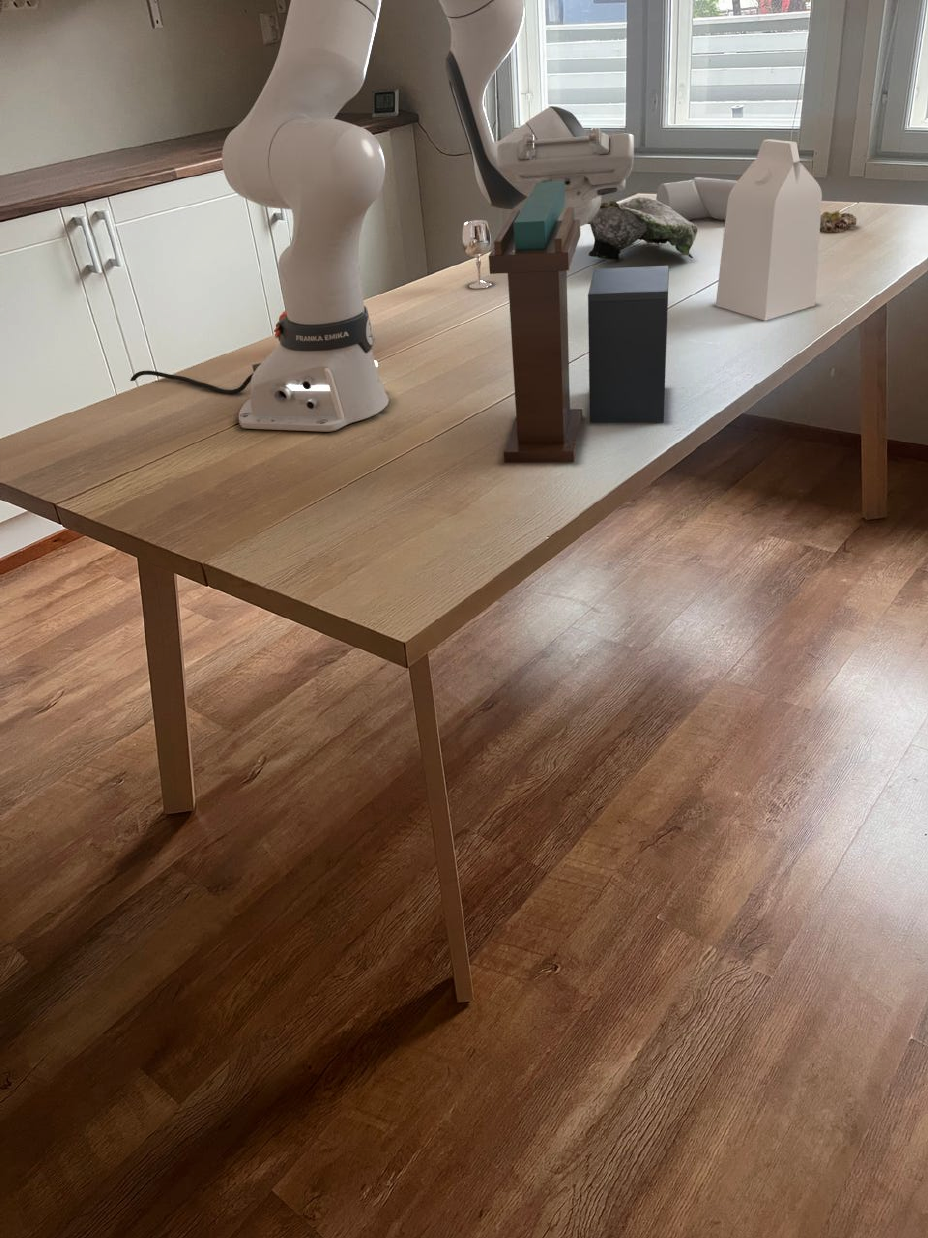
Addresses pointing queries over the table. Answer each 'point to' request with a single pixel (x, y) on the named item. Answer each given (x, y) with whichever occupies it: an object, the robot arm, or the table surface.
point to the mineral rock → (837, 221)
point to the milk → (771, 236)
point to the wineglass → (477, 245)
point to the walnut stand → (540, 343)
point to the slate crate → (627, 344)
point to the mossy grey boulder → (639, 227)
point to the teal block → (539, 216)
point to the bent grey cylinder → (697, 197)
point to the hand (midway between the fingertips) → (560, 135)
